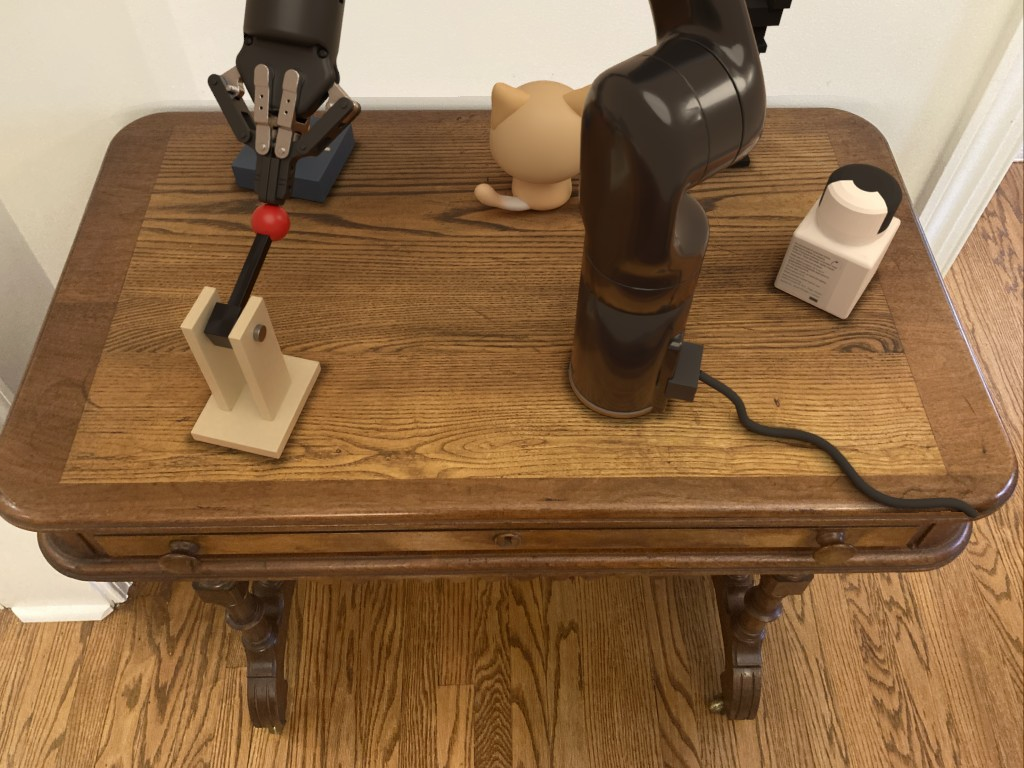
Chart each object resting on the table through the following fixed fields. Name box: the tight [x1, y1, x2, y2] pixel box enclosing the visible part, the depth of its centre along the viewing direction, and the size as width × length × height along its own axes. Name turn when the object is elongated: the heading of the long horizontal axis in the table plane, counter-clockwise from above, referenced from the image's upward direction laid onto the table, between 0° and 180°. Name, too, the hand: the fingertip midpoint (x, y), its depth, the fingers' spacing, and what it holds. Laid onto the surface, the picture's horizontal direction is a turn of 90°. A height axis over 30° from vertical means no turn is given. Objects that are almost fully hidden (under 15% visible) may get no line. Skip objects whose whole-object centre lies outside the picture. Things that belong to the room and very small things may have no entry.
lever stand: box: [179, 285, 322, 460], centre depth 72 cm, size 10×8×13 cm
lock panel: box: [230, 115, 356, 203], centre depth 95 cm, size 10×10×3 cm
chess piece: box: [727, 0, 793, 169], centre depth 90 cm, size 8×8×20 cm
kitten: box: [474, 79, 592, 212], centre depth 87 cm, size 15×10×15 cm, turn 89°
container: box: [774, 163, 903, 320], centre depth 81 cm, size 8×8×13 cm
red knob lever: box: [204, 203, 291, 349], centre depth 70 cm, size 13×3×3 cm, turn 166°
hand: (271, 203), depth 71 cm, fingers closed
